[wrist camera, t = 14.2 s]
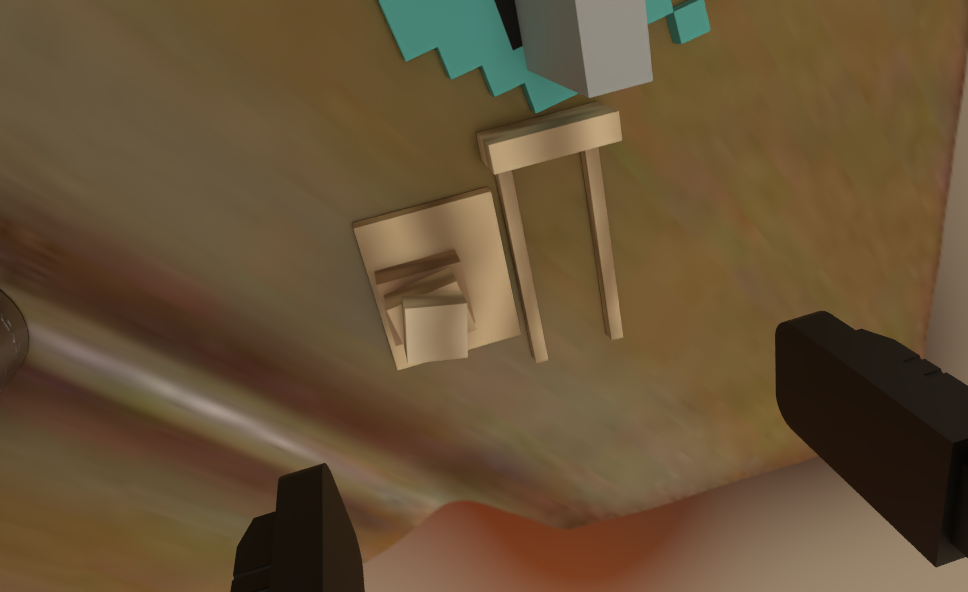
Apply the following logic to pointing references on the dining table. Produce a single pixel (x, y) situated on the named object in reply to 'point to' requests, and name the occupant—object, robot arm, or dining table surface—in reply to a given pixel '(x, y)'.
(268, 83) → the dining table surface
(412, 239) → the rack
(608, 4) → the gray eraser-like brick
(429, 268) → the offcut
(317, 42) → the dining table surface
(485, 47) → the alien figure
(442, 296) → the offcut
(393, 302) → the offcut
